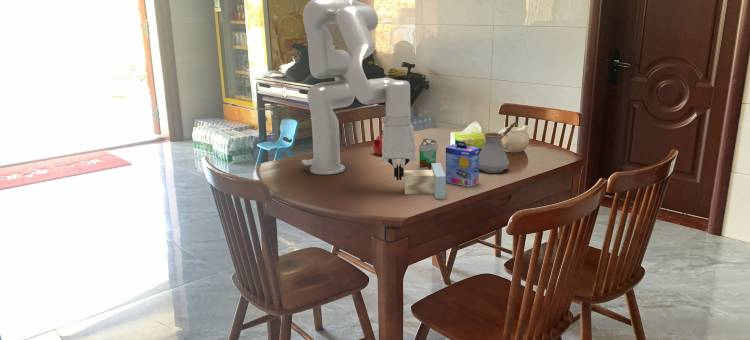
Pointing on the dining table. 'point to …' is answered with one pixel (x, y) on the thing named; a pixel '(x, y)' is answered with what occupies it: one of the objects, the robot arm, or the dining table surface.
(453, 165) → the ink cartridge box
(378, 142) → the pomegranate
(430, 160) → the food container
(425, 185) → the block
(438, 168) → the board
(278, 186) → the dining table surface
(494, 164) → the coffee pot
